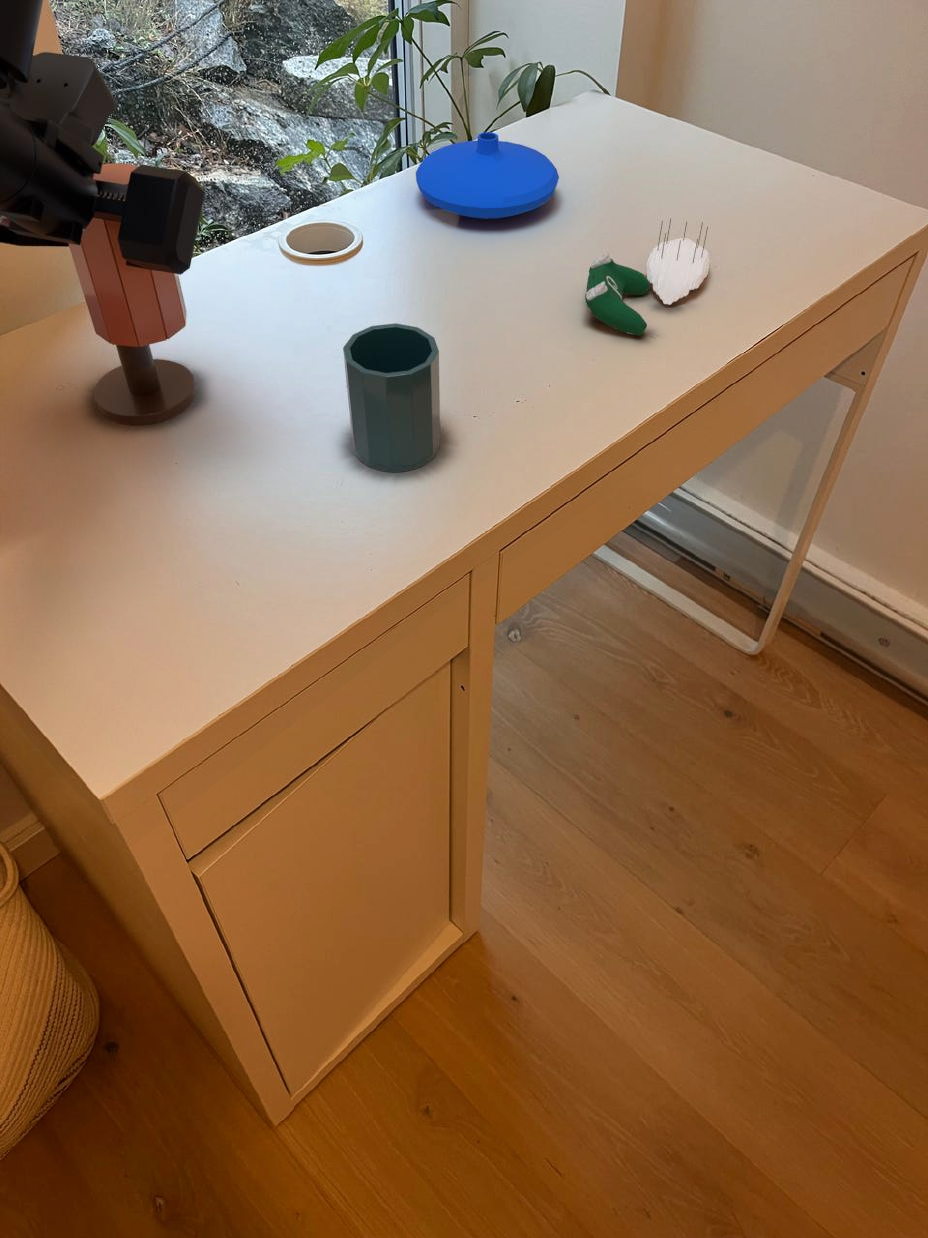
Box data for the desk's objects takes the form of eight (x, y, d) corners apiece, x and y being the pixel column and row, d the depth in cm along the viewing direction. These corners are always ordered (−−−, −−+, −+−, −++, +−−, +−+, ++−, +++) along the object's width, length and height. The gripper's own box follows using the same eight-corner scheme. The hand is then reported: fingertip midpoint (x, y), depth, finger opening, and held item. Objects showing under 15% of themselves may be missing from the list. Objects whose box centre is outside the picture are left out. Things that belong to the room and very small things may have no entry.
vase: (582, 193, 110) (588, 128, 105) (509, 249, 102) (512, 181, 96) (466, 159, 116) (466, 96, 111) (387, 210, 107) (384, 144, 102)
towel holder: (95, 431, 81) (73, 369, 76) (98, 374, 86) (79, 313, 82) (198, 419, 82) (183, 357, 77) (195, 363, 87) (181, 302, 83)
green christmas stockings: (622, 303, 98) (584, 261, 95) (653, 281, 96) (614, 236, 93) (617, 354, 92) (576, 310, 89) (650, 332, 90) (608, 285, 87)
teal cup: (359, 477, 77) (350, 380, 70) (348, 424, 82) (338, 329, 75) (446, 466, 78) (445, 369, 71) (430, 414, 83) (428, 319, 76)
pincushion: (655, 244, 102) (664, 191, 98) (714, 253, 101) (725, 199, 97) (635, 302, 95) (643, 246, 91) (697, 312, 94) (709, 256, 89)
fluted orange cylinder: (92, 350, 75) (48, 209, 67) (100, 302, 80) (60, 165, 71) (185, 343, 76) (152, 203, 67) (187, 295, 80) (157, 159, 72)
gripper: (157, 39, 57) (267, 157, 72) (-109, 5, 60) (49, 124, 76) (119, 230, 57) (236, 307, 73) (-142, 185, 61) (21, 267, 76)
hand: (134, 247), depth 74 cm, fingers closed on fluted orange cylinder, 7 cm apart
